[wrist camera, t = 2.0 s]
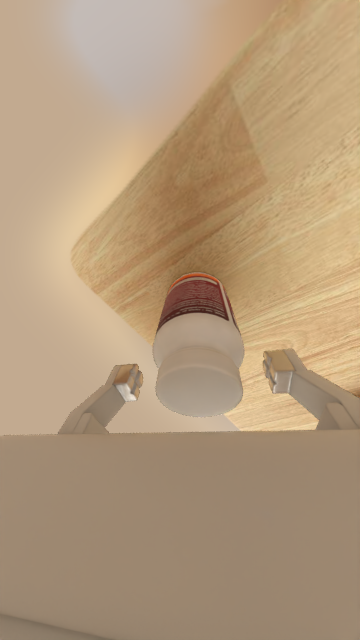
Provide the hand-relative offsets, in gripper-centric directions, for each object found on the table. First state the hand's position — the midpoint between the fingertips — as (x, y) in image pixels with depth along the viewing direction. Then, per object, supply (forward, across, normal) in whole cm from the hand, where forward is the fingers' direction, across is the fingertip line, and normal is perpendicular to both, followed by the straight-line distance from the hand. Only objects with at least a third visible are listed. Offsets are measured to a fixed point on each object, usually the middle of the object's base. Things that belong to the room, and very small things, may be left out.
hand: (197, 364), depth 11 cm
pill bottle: (+9, 0, 0) cm, 9 cm away
